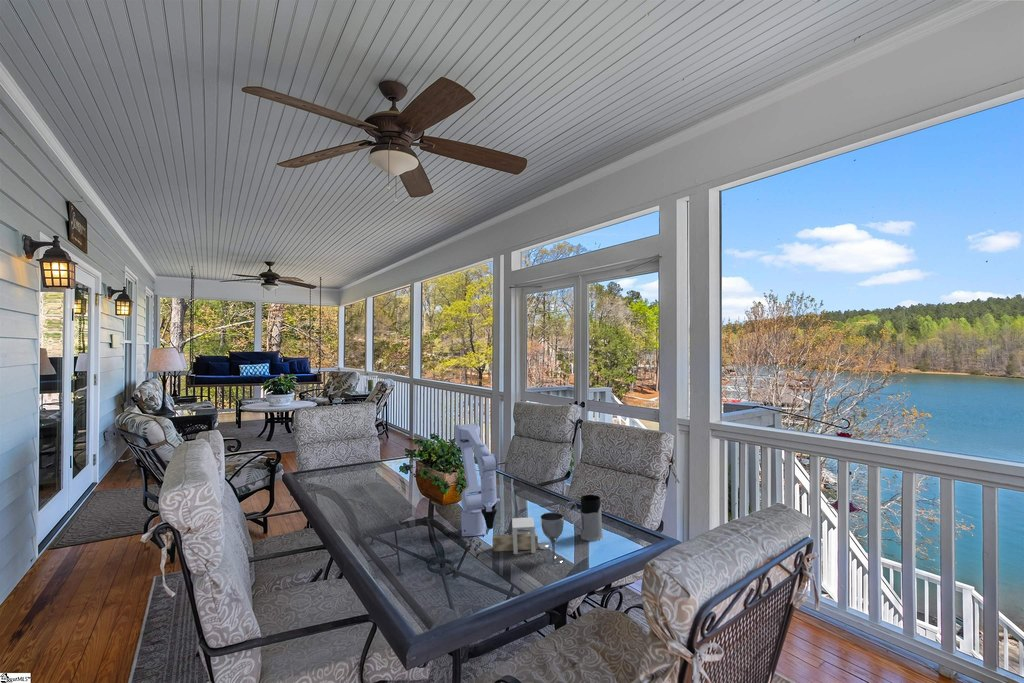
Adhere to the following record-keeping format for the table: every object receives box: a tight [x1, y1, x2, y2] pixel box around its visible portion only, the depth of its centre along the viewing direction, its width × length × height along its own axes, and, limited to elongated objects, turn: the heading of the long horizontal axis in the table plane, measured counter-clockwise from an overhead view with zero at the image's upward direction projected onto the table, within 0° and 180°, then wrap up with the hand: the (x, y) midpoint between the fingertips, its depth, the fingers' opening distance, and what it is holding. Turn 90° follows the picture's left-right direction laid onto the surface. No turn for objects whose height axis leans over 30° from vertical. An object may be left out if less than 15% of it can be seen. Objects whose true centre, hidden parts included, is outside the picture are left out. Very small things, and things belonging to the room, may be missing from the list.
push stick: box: [492, 532, 539, 552], centre depth 173 cm, size 16×2×5 cm, turn 92°
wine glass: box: [540, 511, 565, 565], centre depth 163 cm, size 8×8×15 cm
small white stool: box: [511, 517, 537, 555], centre depth 173 cm, size 8×10×10 cm
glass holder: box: [565, 494, 604, 542], centre depth 181 cm, size 9×14×15 cm, turn 90°
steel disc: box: [537, 542, 551, 551], centre depth 173 cm, size 4×4×1 cm
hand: (490, 524), depth 174 cm, fingers open, 7 cm apart
